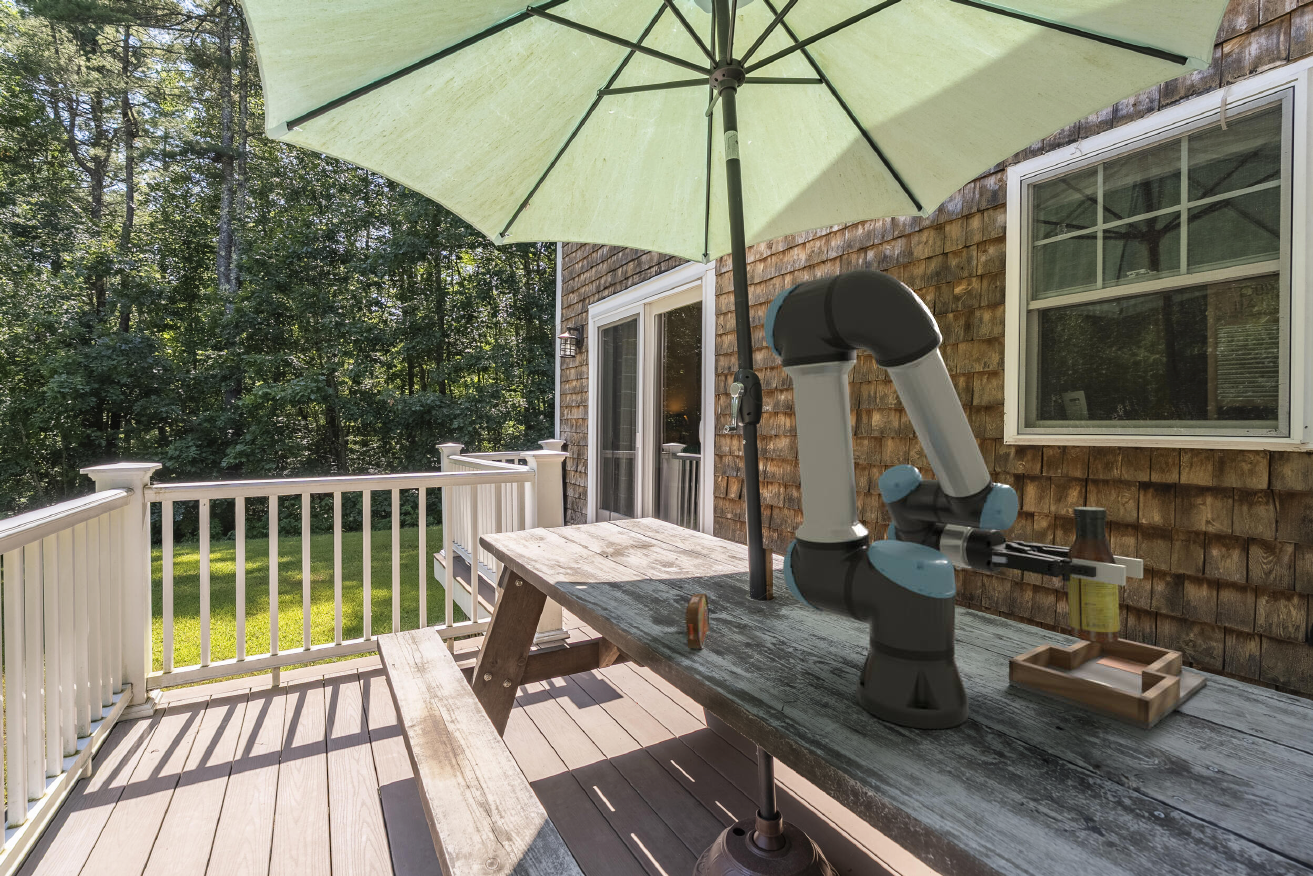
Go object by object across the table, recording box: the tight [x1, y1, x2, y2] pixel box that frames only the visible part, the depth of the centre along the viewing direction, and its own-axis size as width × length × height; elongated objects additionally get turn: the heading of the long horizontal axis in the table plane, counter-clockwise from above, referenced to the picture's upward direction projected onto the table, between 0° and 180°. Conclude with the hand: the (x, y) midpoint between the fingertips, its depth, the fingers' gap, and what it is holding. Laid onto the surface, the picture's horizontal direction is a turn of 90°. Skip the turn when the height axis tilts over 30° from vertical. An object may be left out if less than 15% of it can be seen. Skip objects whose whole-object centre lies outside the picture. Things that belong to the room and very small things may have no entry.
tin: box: [685, 592, 710, 650], centre depth 118 cm, size 15×3×8 cm, turn 168°
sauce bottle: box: [1067, 506, 1121, 644], centre depth 93 cm, size 6×6×20 cm
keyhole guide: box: [1008, 637, 1208, 731], centre depth 97 cm, size 26×18×4 cm
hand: (1133, 572), depth 89 cm, fingers closed on sauce bottle, 6 cm apart
